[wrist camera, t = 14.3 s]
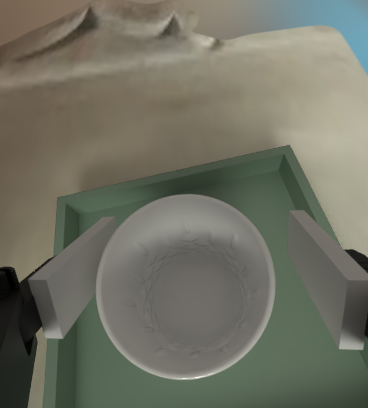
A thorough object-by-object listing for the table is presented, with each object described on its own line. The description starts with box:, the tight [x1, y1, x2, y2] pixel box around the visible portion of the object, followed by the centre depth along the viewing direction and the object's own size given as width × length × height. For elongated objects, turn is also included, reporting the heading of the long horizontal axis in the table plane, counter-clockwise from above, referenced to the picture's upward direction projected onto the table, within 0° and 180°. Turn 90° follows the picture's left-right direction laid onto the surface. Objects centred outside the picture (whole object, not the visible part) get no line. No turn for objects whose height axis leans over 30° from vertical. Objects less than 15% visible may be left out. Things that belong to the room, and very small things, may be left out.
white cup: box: [96, 194, 276, 380], centre depth 15 cm, size 8×8×10 cm
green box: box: [43, 145, 368, 408], centre depth 19 cm, size 22×22×4 cm
